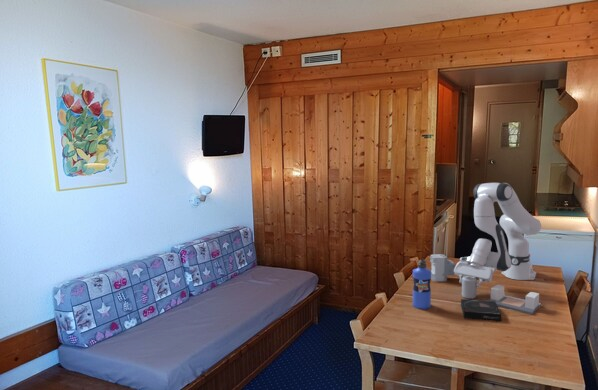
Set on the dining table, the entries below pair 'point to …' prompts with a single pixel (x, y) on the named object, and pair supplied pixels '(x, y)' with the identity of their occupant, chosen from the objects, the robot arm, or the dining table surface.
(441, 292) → the dining table surface
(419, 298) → the water bottle
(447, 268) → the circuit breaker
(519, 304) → the board
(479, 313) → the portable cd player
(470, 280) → the can
